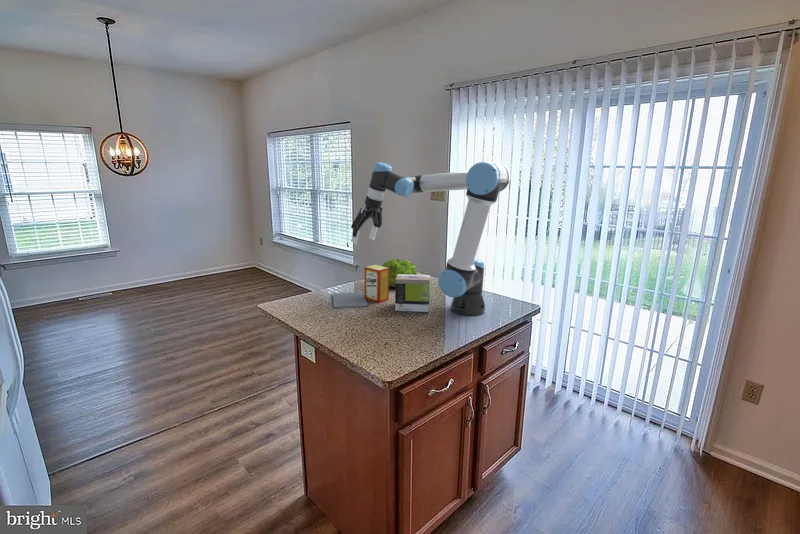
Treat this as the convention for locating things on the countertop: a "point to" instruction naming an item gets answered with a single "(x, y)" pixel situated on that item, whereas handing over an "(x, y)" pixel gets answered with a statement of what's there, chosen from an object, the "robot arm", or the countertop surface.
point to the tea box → (412, 292)
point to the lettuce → (399, 269)
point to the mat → (349, 300)
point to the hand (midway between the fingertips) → (362, 240)
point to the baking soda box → (376, 283)
